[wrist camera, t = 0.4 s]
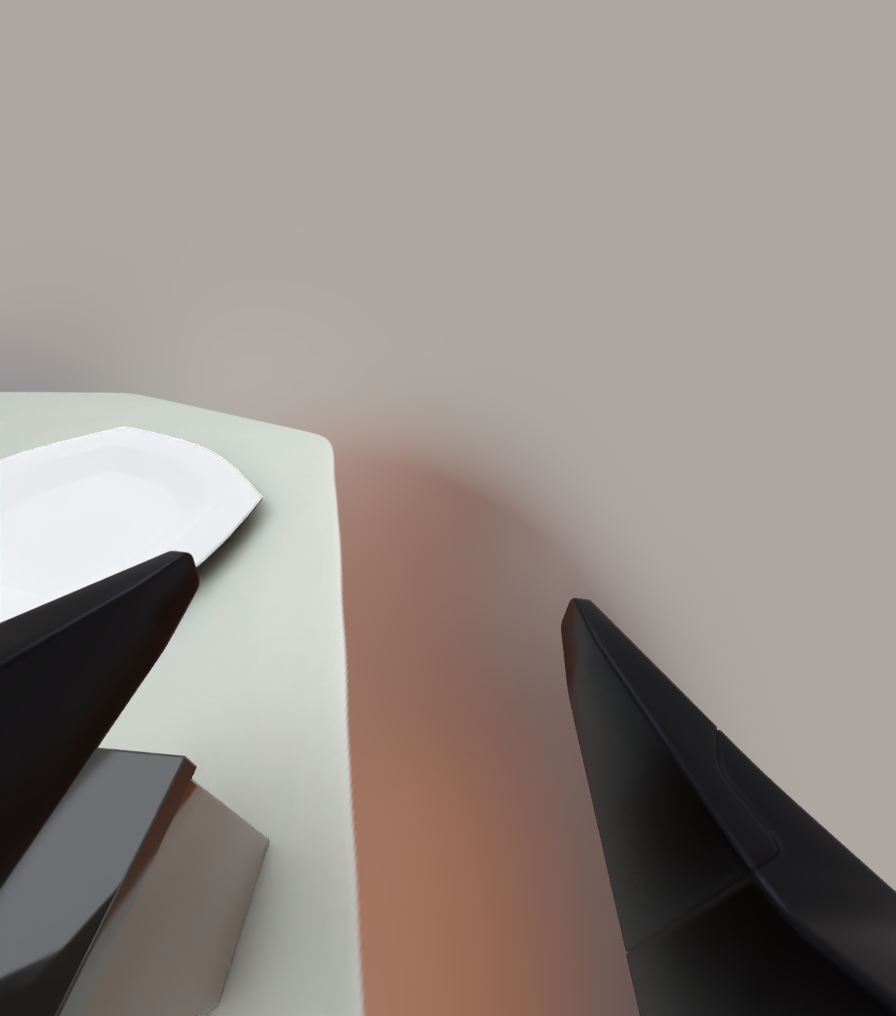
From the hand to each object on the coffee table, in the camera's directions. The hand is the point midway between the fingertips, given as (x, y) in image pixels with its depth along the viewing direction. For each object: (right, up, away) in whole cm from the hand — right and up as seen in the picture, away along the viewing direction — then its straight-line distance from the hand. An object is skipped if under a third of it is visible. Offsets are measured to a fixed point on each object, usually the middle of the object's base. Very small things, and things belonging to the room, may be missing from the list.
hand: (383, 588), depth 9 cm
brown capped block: (-10, -16, +8) cm, 20 cm away
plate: (-28, 0, +22) cm, 35 cm away
